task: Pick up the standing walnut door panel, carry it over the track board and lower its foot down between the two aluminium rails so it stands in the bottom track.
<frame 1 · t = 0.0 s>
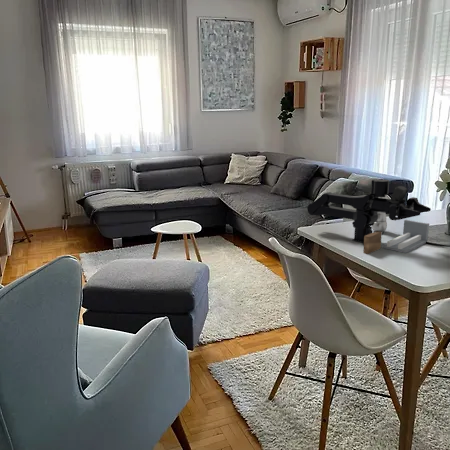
hand: (425, 211, 168), 17 cm above the table, tool horizontal, fingers open, 9 cm apart
door panel: (372, 250, 176), on the table
plastic bottle: (378, 231, 203), on the table
track board: (405, 244, 183), on the table
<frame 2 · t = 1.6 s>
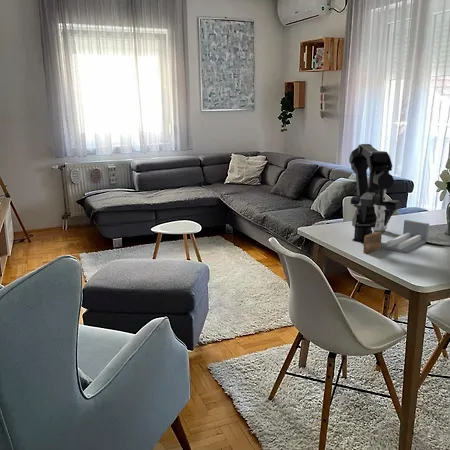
hand: (374, 224, 173), 11 cm above the table, tool pointing down, fingers open, 9 cm apart
nothing on the table moved.
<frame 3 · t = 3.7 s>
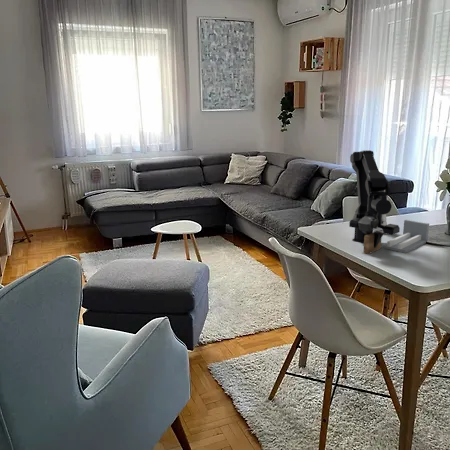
hand: (372, 246, 176), 2 cm above the table, tool pointing down, fingers closed on door panel, 2 cm apart
door panel: (372, 250, 176), on the table, touching gripper
everything else where it was.
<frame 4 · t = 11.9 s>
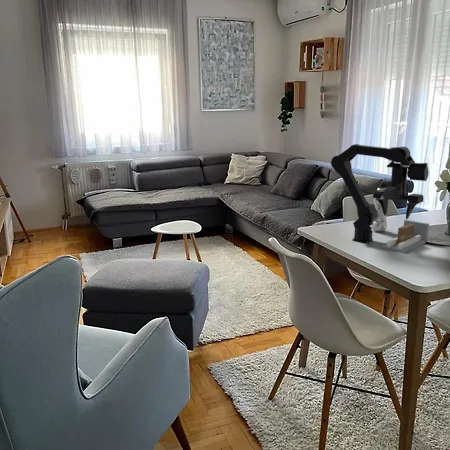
hand: (395, 217, 179), 12 cm above the table, tool pointing down, fingers open, 9 cm apart
door panel: (404, 242, 182), point 1 cm above the table, touching track board
everything else where it was.
at the end: door panel inside the target area on the track board (0.6 cm from its centre), point 1.0 cm above the track board's base; door panel tilted 0°; the gripper is holding nothing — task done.
